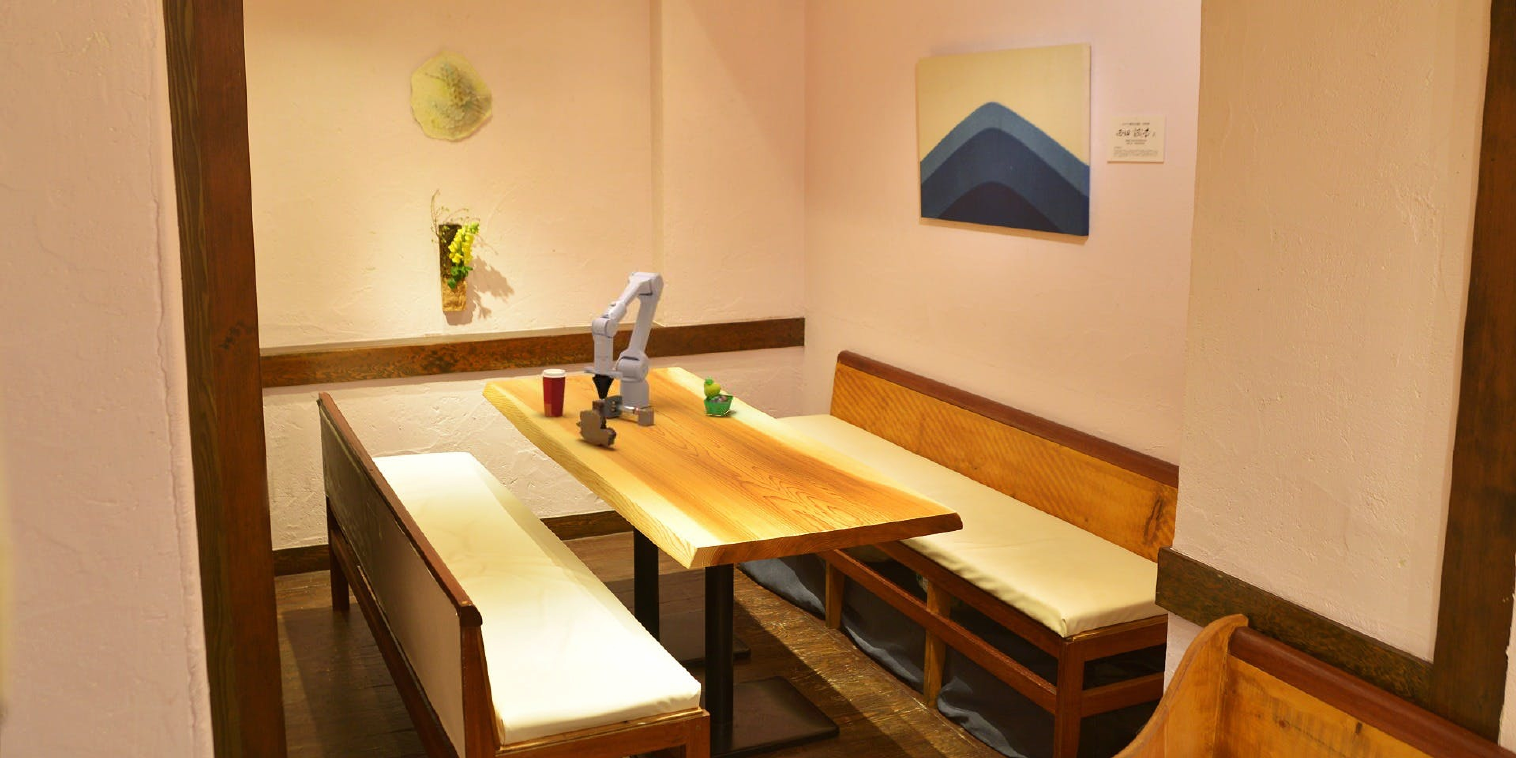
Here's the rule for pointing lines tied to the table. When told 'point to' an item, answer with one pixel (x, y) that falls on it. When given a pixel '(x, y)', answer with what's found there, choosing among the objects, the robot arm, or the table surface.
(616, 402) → the collar
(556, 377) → the paper cup
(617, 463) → the table surface
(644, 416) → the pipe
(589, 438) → the wooden carving
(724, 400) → the fruit basket
